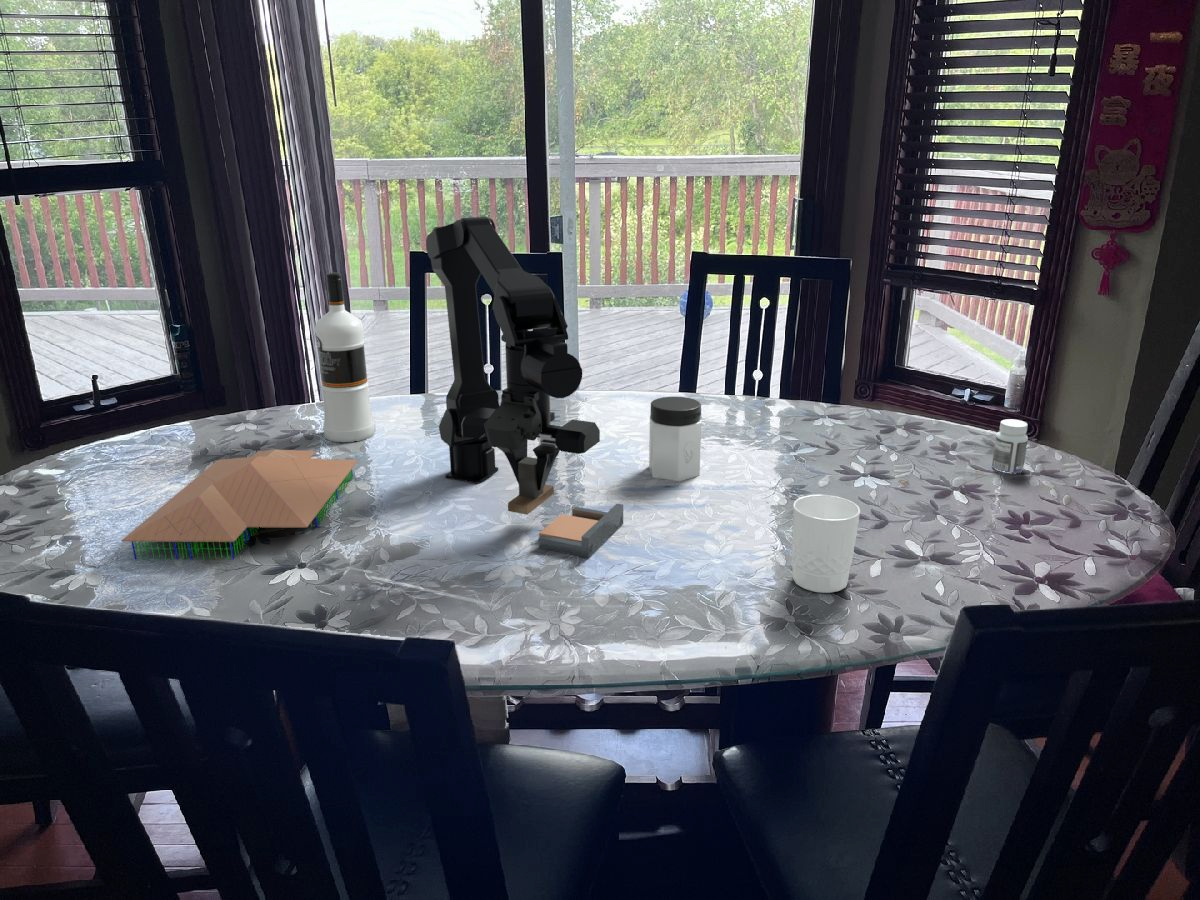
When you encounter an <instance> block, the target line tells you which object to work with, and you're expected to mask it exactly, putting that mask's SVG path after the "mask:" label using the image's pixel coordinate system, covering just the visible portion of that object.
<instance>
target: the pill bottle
mask: <svg viewBox="0 0 1200 900" xmlns="http://www.w3.org/2000/svg"><path fill="white" fill-rule="evenodd" d="M1027 431H1028V423H1027V422H1026V421H1023V420H1021V419H1012V418H1011V419H1010V418H1009V419H1003V420H1001V421H1000V425H999V431H998V432H997V433H996V435H995V442H994V447H993V454H992V461H991V462H992V463H991V467H992V466H993V467H994V468H996V469H998V470H1001V471H1005V472H1019V471H1022V470H1023V471H1024V467H1025V466H1024V465H1025V460H1026V454H1027V447H1028V442H1029V437H1028V435H1027Z"/></svg>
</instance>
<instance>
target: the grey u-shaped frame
mask: <svg viewBox="0 0 1200 900" xmlns="http://www.w3.org/2000/svg"><path fill="white" fill-rule="evenodd" d="M571 514H572V515H571V516H575V517H581V518H586V519H592V520H598V522H597V523H596V524H594V525H593V526H592V527H591V528H590V529H589V530H588V531H587V532H586V533H585V534H584V535H583V536H582V542H576V541H571V540H566V539H561V538H555V537H550V536H545V535H541V536H540V537H539V536H538V549H543V550H548V551H552V552H556V553H557V552H558V553H563V554H568V555H573V556H578V557H581V558H582V559H583V558H584V559H588V560H589V559H590V558H591V557H592V556H593V555H594V554H595V553H596V552H597V551H598V550H599V549H600V548H601V547H602V546H603V545H604V544H605V543H606V542H607V541H608V540H610V538H611V537H612V536H613V535H614V534H615V533H616V532H617V531H618V530H619V529H620V528H621V527H622V526H623V525H624V504H623V503H615V505H613V506H612V507H611V508H610V509H609V510H608V511H603V510H599V509H598V510H596V509H590V508H585V507H580V506H574V507H573V508H572V509H571Z"/></svg>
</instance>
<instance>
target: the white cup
mask: <svg viewBox="0 0 1200 900" xmlns="http://www.w3.org/2000/svg"><path fill="white" fill-rule="evenodd" d="M860 515H861V508H860V507H859V505H858V504H856V503H855V502H853V501H851V500H849V499H847V498H843V497H841V496H836V495H830V494H810V495H804V496H801V497H799V498H797V499H795V500H794V501H793V505H792V532H791V533H792V535H791V537H792V539H791V541H792V543H791V544H792V548H791V550H792V552H791V555H792V572H791V573H792V579H793V581H794V583H795V584H796V585H797V586H799V587H801V588H803V589H804V590H807V591H811V592H815V593H823V594H825V593H826V594H830V593H835V592H839V591H842V590H844V589H845V588H847V586H848V582H849V575H850V570H851V566H852V564H853V557H854V552H855V547H856V542H857V534H858V528H859V520H860Z"/></svg>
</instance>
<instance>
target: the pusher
mask: <svg viewBox="0 0 1200 900" xmlns="http://www.w3.org/2000/svg"><path fill="white" fill-rule="evenodd" d="M518 473H519V484H518V495H517V496H515V497H514V498H513V499H511V500H510V501H508V502H507V511H508V512H510V513H511V512H512V513H516V514H522V515H527V516H528V515H529V514H530V513H532V512H533V511H535V510H536V509H537V508H538V507H539V506H540V505H542V504H543V503H544V502H545V501H547V499H549V498H550V497H552V496H553V495H554V485H550V484H545V486H544V488H543V489H542V490H538V487H537V457H531V456H527V457H526V458H524V459H523V460H521V461H520V462H518Z"/></svg>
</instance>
